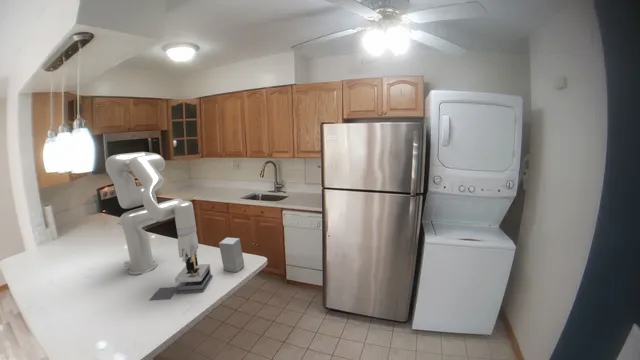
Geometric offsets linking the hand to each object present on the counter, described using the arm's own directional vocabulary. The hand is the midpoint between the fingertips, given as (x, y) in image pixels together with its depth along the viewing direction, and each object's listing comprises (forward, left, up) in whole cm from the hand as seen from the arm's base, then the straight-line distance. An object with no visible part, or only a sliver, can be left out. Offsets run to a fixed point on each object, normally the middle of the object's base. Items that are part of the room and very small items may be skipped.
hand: (192, 267), depth 121 cm
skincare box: (+14, +13, -9) cm, 21 cm away
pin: (0, 0, -4) cm, 4 cm away
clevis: (0, 0, -9) cm, 9 cm away
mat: (-11, -5, -9) cm, 15 cm away
